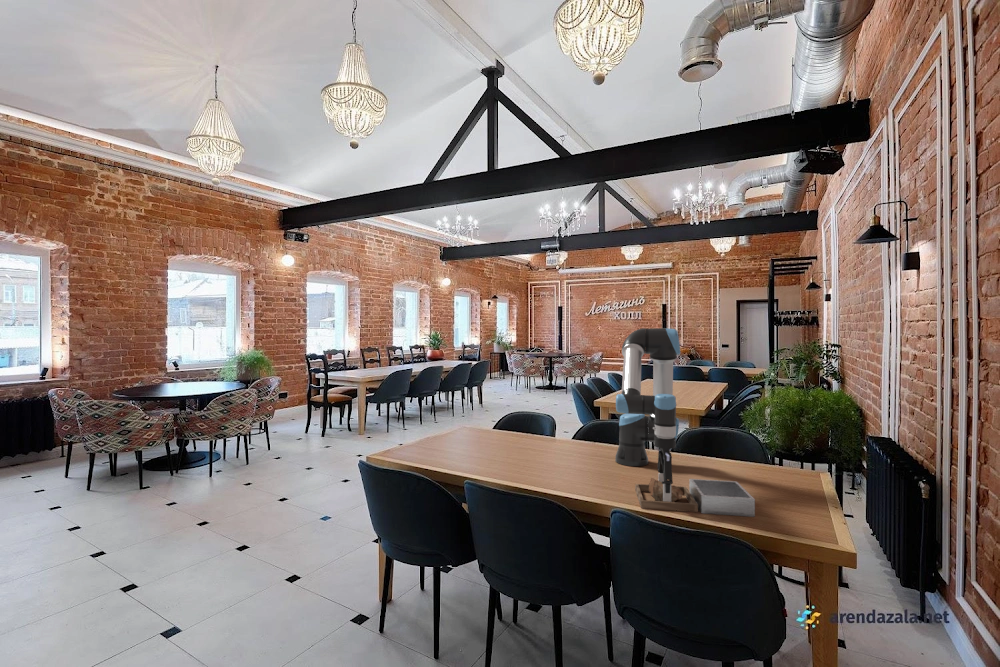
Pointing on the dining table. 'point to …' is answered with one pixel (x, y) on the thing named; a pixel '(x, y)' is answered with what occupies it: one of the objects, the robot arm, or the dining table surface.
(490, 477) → the dining table surface
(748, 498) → the bin
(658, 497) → the stone
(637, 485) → the frame
